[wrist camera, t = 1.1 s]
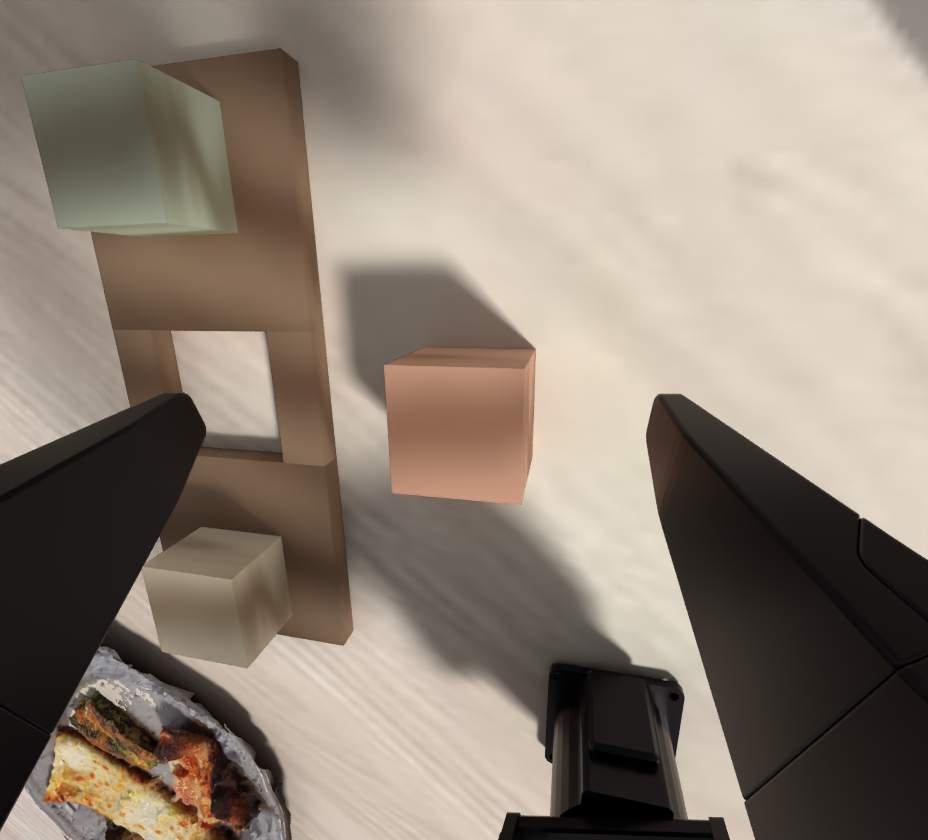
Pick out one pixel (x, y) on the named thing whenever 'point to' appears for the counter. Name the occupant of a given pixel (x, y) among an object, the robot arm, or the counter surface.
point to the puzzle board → (212, 323)
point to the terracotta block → (461, 422)
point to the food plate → (152, 768)
